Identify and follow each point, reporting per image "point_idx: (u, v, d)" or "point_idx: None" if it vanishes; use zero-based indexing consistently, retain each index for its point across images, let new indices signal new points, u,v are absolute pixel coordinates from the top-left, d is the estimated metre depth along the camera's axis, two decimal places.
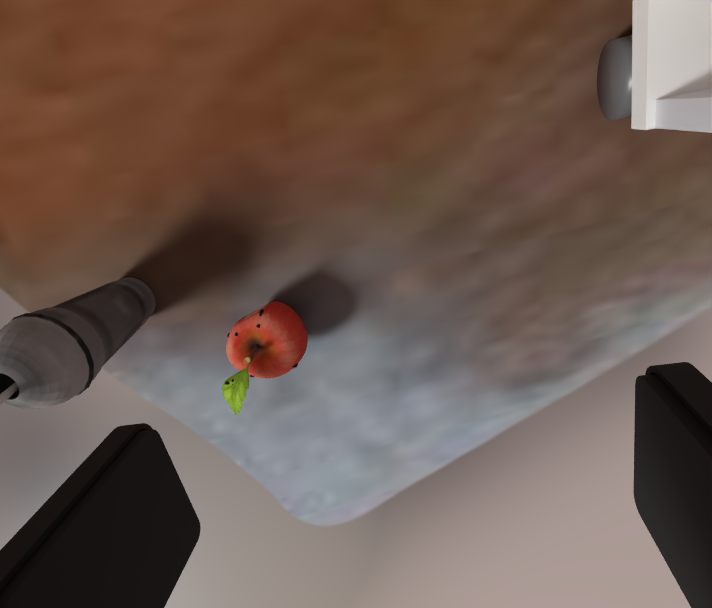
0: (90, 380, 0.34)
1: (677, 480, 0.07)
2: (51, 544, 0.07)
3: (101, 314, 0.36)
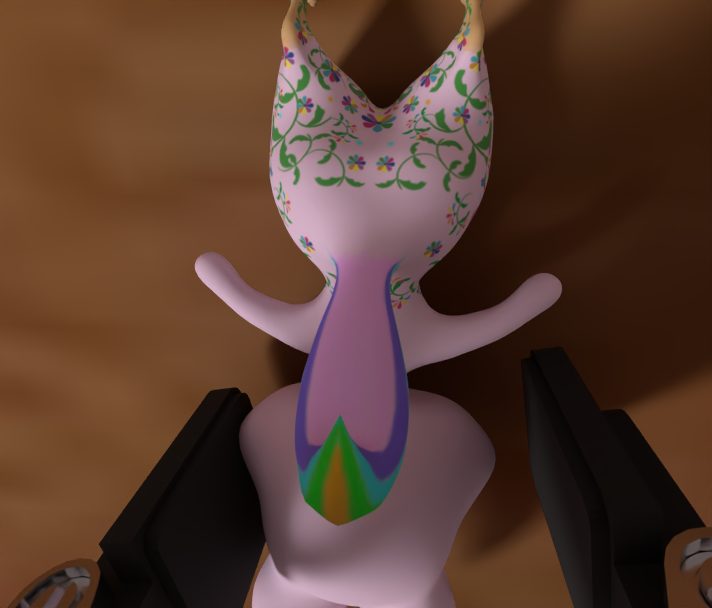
0: None
1: (542, 445, 0.08)
2: (182, 486, 0.07)
3: None
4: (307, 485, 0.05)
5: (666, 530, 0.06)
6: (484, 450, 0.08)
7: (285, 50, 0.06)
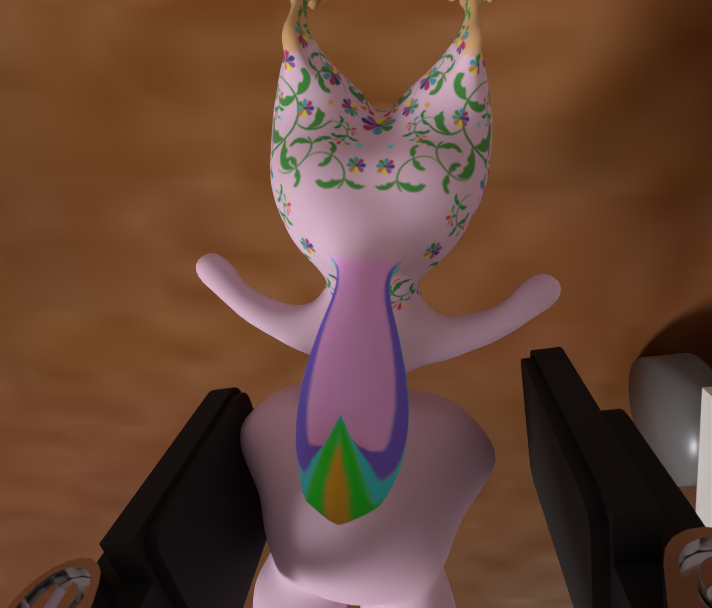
0: None
1: (541, 445, 0.08)
2: (182, 486, 0.07)
3: None
4: (308, 485, 0.05)
5: (666, 530, 0.06)
6: (483, 450, 0.08)
7: (285, 53, 0.06)
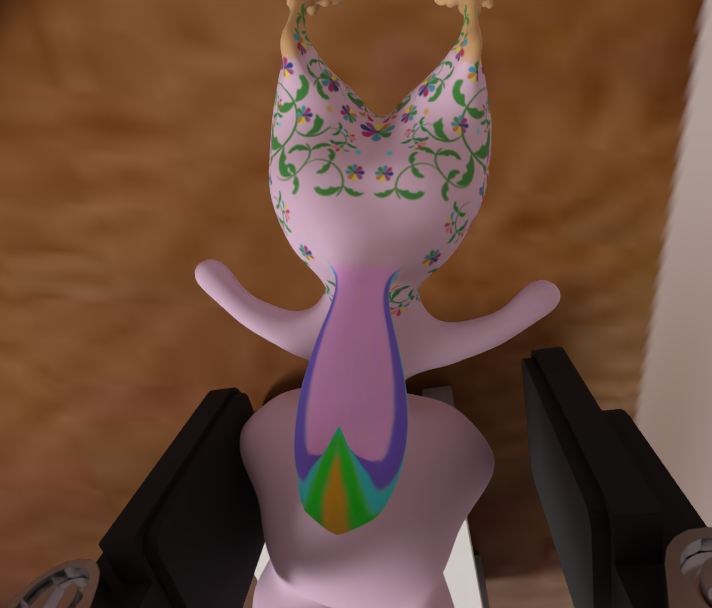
0: None
1: (542, 445, 0.08)
2: (181, 486, 0.07)
3: None
4: (306, 495, 0.05)
5: (667, 530, 0.05)
6: (483, 456, 0.08)
7: (284, 60, 0.06)
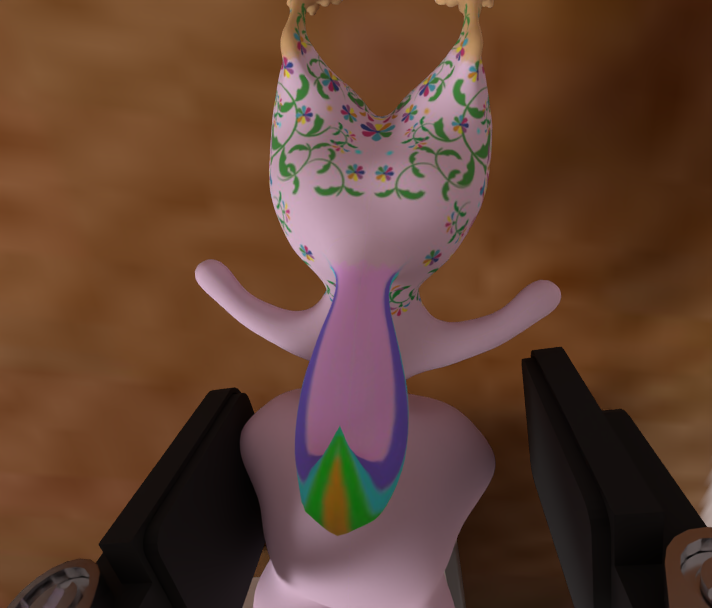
0: None
1: (542, 445, 0.08)
2: (181, 486, 0.07)
3: None
4: (307, 496, 0.05)
5: (667, 530, 0.06)
6: (484, 456, 0.08)
7: (284, 60, 0.06)
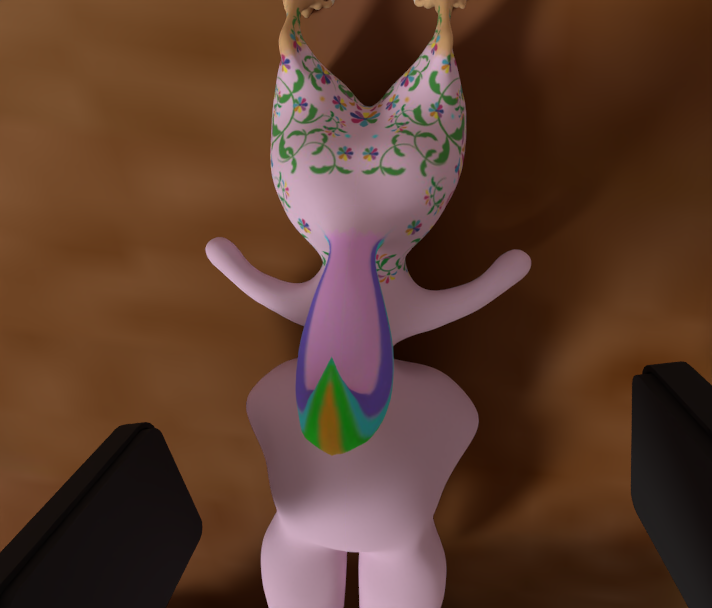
0: None
1: (673, 479, 0.07)
2: (55, 542, 0.07)
3: None
4: (305, 420, 0.06)
5: None
6: (467, 412, 0.09)
7: (282, 57, 0.07)
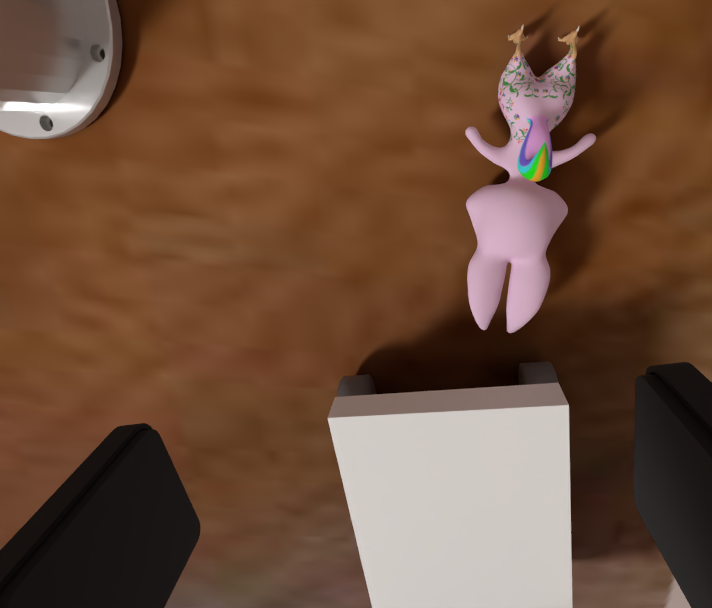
0: None
1: (677, 480, 0.07)
2: (51, 544, 0.07)
3: None
4: (532, 163, 0.20)
5: None
6: (564, 203, 0.23)
7: (516, 57, 0.21)
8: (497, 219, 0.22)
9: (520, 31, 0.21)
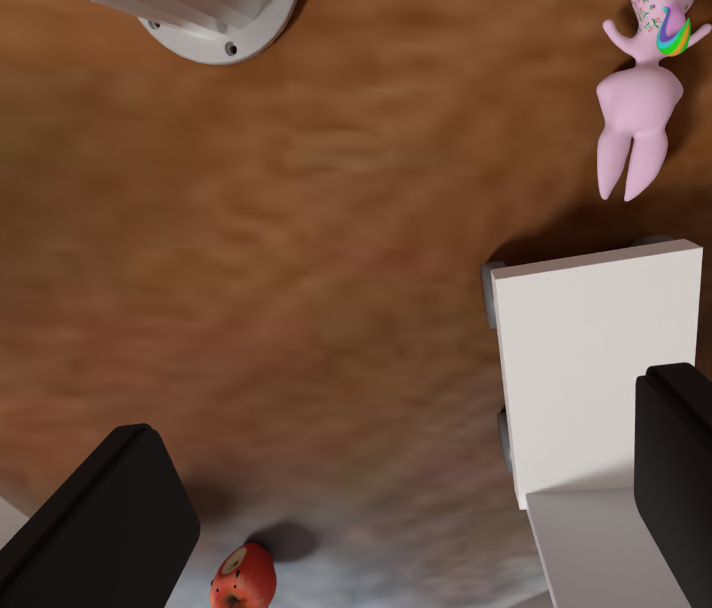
0: None
1: (677, 480, 0.07)
2: (51, 544, 0.07)
3: None
4: (677, 37, 0.25)
5: None
6: (681, 85, 0.28)
7: None
8: (632, 94, 0.27)
9: None
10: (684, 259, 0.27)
